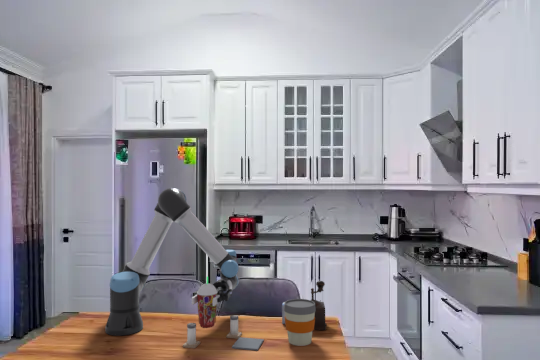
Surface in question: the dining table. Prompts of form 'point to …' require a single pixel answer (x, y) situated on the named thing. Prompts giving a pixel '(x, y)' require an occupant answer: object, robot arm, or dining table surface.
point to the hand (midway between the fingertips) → (203, 301)
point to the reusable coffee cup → (299, 320)
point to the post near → (191, 336)
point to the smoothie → (206, 305)
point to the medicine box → (283, 314)
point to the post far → (234, 327)
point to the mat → (248, 343)
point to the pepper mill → (319, 309)
